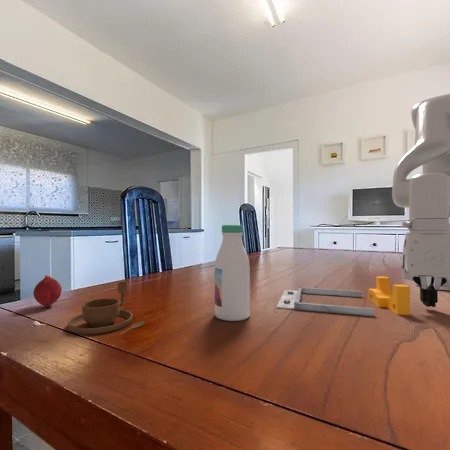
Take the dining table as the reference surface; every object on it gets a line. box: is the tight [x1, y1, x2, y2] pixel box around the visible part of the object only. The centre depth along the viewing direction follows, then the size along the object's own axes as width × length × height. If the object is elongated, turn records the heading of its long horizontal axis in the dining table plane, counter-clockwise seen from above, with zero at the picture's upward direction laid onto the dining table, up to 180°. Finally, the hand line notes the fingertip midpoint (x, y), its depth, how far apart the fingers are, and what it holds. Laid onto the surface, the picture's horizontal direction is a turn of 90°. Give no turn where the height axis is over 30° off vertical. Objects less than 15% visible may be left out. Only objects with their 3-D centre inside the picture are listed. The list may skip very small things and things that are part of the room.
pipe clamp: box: [368, 276, 411, 316], centre depth 68 cm, size 12×4×6 cm, turn 172°
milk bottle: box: [214, 224, 251, 322], centre depth 61 cm, size 8×8×20 cm
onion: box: [32, 273, 63, 308], centre depth 69 cm, size 6×6×8 cm
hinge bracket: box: [276, 286, 375, 317], centre depth 73 cm, size 18×21×2 cm
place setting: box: [67, 281, 145, 335], centre depth 61 cm, size 18×20×6 cm
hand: (428, 305), depth 65 cm, fingers closed
